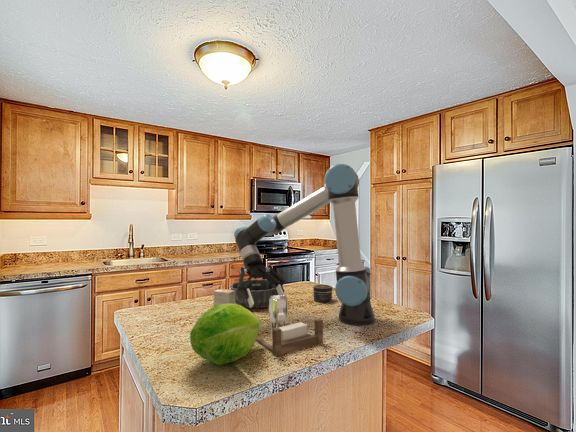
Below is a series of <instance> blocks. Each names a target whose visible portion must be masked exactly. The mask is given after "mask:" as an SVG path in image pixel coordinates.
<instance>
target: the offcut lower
mask: <svg viewBox="0 0 576 432" xmlns="http://www.w3.org/2000/svg"><path fill="white" fill-rule="evenodd" d="M310 335H311V333H310V332H308V331H307V334H305V335H301V336H297V337H294V338H290V339H286V340H282V339H281V343H283V342H287V341H291V340H295V339H299V338H303V337H307V336H310Z"/></svg>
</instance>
